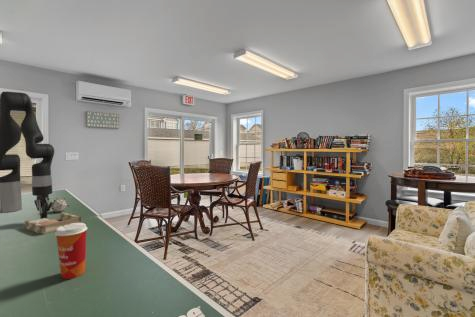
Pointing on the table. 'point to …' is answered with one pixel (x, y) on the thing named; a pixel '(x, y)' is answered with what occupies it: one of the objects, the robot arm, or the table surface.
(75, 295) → the table surface
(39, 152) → the robot arm
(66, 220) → the box
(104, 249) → the table surface
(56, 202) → the game die
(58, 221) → the terracotta tile
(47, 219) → the cream tile
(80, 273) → the paper cup
